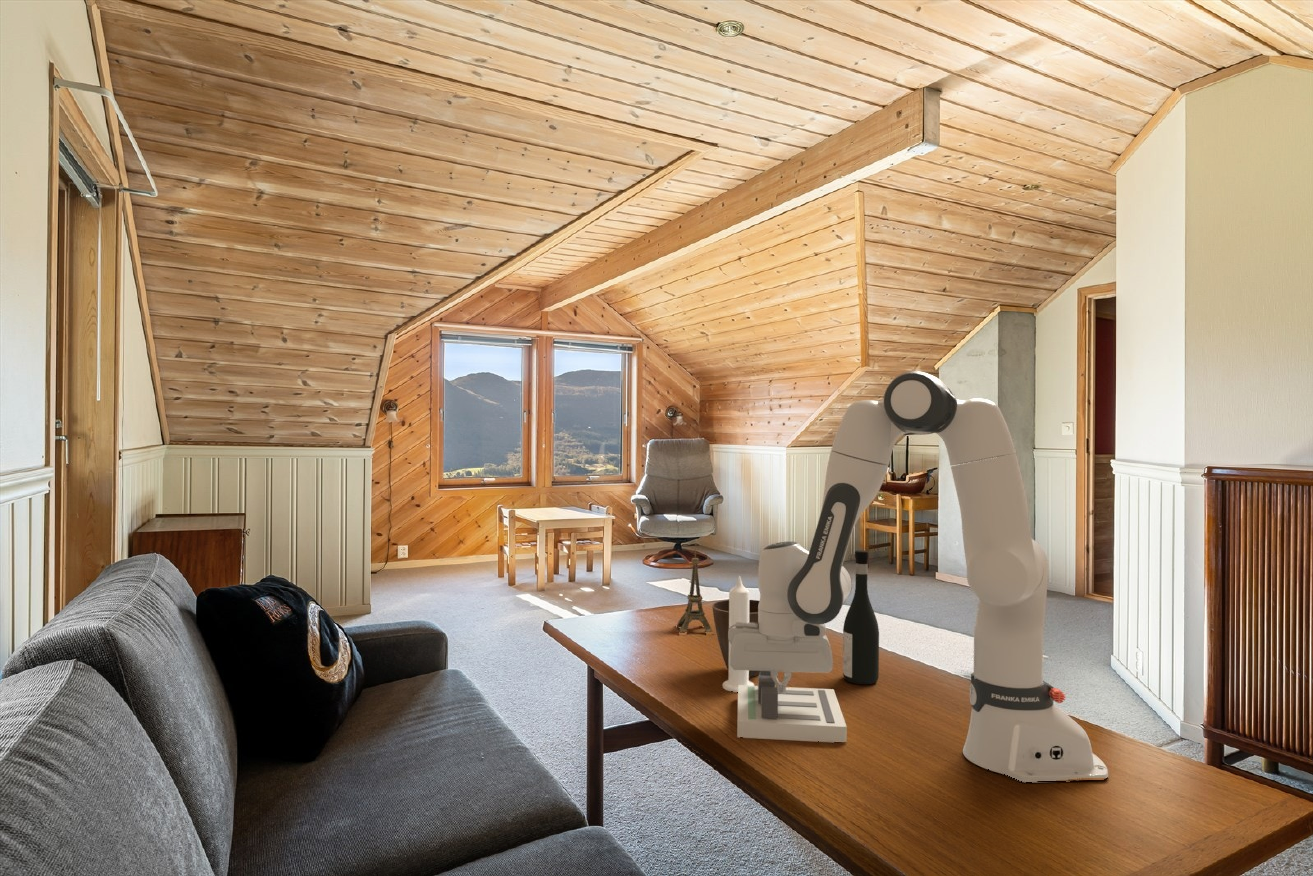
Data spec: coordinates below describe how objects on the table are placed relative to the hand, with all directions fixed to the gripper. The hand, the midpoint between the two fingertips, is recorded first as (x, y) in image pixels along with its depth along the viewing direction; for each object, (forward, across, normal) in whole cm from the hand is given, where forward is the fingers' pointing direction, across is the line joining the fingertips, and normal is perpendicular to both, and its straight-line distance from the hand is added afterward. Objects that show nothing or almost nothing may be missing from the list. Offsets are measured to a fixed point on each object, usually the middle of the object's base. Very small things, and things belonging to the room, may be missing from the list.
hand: (780, 692), depth 153 cm
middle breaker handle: (+2, -3, 0) cm, 3 cm away
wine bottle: (+6, +19, +27) cm, 34 cm away
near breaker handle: (+2, -2, -7) cm, 8 cm away
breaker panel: (+5, +2, 0) cm, 5 cm away
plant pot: (+5, -8, +29) cm, 30 cm away
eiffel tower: (+5, -22, +67) cm, 70 cm away
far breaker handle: (+2, -3, +7) cm, 8 cm away
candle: (+5, -9, +18) cm, 21 cm away
